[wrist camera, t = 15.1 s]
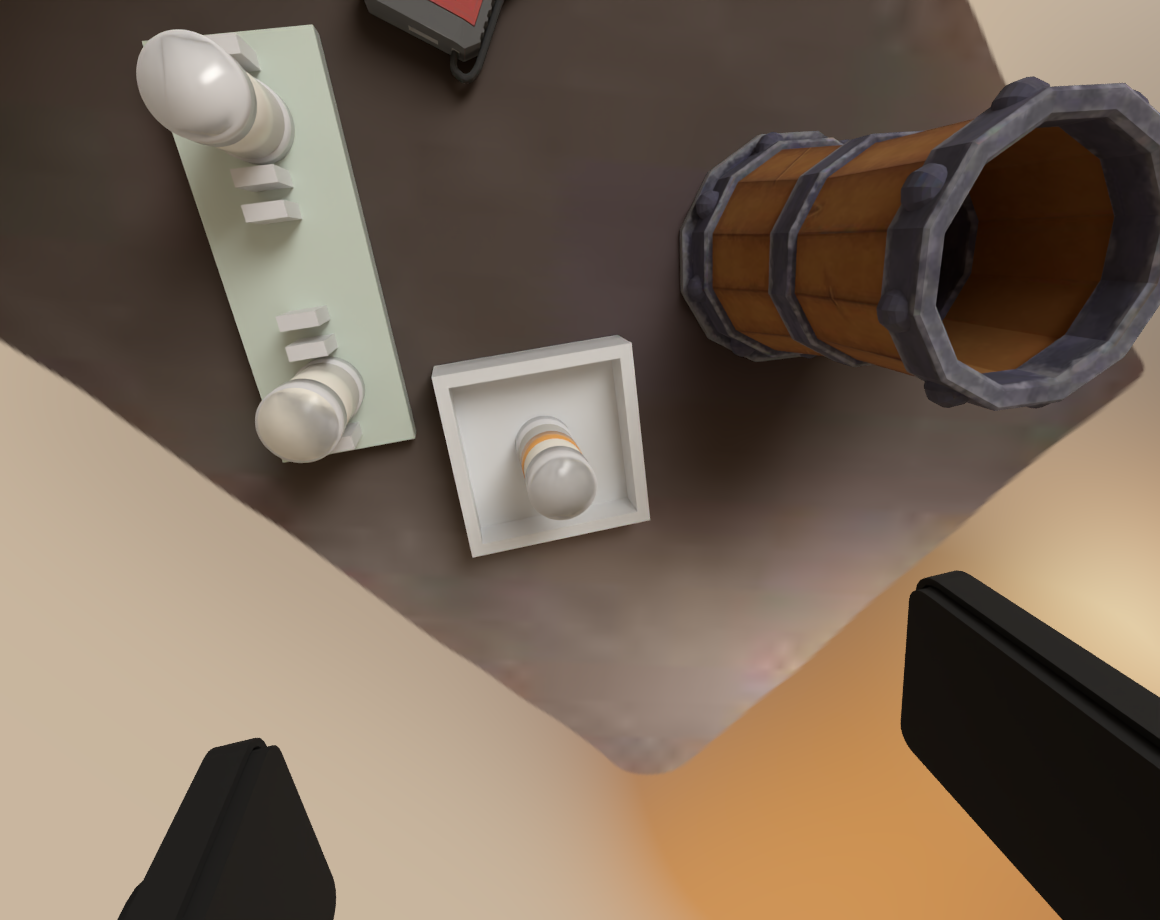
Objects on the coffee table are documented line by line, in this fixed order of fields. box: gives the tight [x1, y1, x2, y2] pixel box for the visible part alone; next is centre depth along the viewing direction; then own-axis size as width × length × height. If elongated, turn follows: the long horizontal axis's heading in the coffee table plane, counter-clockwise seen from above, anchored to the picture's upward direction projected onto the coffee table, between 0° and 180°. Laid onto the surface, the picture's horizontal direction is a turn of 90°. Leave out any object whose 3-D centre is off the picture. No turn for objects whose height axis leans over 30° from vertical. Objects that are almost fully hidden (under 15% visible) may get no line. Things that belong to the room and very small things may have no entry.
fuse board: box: [142, 25, 416, 463], centre depth 33 cm, size 22×8×4 cm, turn 8°
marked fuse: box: [515, 416, 597, 520], centre depth 37 cm, size 4×4×8 cm
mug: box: [680, 77, 1160, 411], centre depth 31 cm, size 19×14×20 cm
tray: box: [432, 335, 650, 557], centre depth 40 cm, size 12×12×4 cm
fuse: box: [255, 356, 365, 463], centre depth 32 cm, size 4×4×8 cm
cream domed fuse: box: [136, 30, 295, 165], centre depth 27 cm, size 4×4×8 cm
